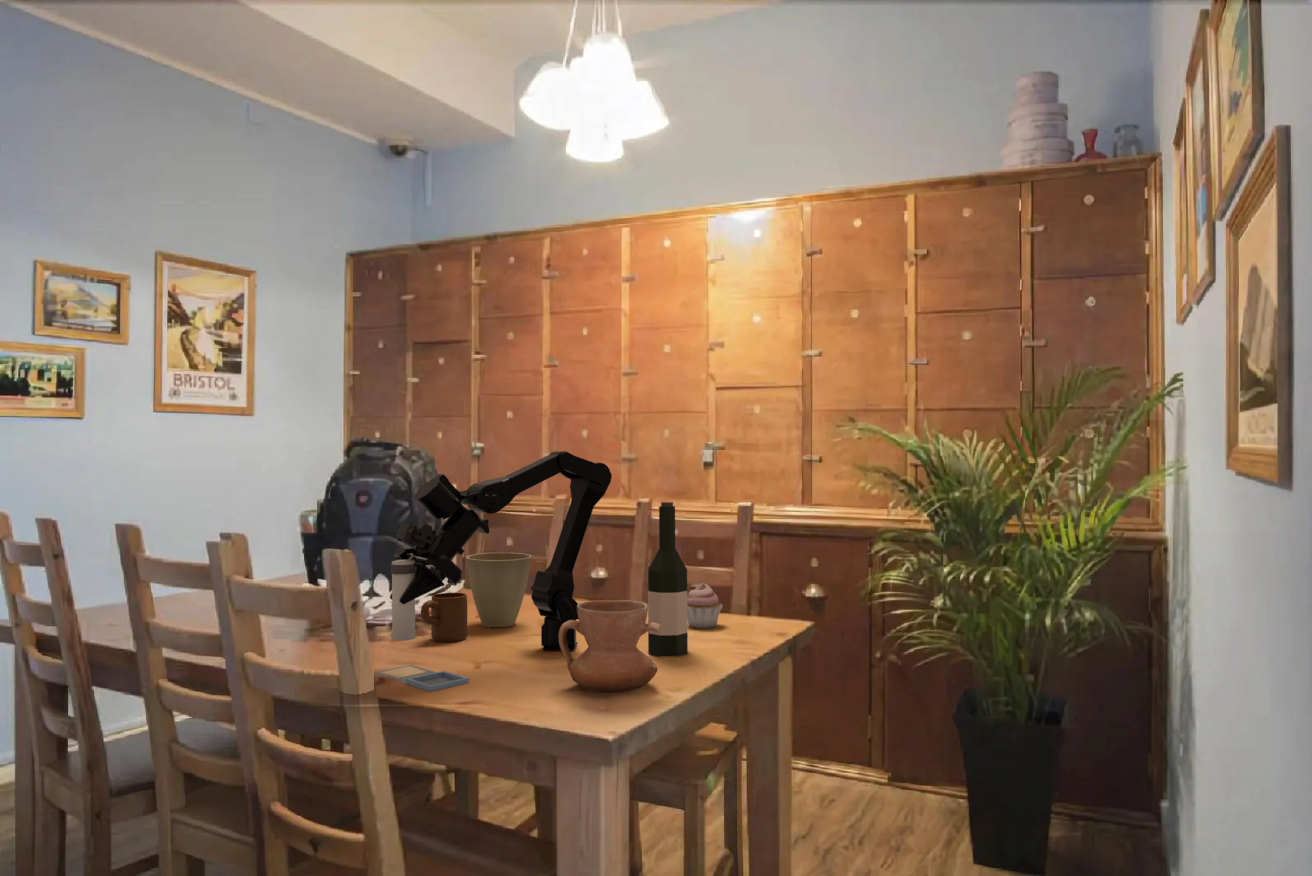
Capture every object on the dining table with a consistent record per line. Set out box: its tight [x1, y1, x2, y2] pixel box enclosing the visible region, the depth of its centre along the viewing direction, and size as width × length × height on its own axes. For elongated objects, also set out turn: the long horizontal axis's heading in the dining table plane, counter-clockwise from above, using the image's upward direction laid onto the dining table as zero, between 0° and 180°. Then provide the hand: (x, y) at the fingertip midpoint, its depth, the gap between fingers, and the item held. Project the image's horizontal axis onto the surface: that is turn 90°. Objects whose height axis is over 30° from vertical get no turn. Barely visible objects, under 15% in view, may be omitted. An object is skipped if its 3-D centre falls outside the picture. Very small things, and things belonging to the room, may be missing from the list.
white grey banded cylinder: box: [390, 559, 416, 642], centre depth 164 cm, size 4×4×14 cm
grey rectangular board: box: [374, 664, 470, 693], centre depth 160 cm, size 19×8×1 cm, turn 46°
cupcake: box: [687, 582, 723, 629], centre depth 206 cm, size 9×9×10 cm
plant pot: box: [466, 552, 533, 628], centre depth 209 cm, size 15×15×16 cm
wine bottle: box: [647, 501, 689, 657], centre depth 181 cm, size 8×8×30 cm
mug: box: [420, 592, 468, 643], centre depth 192 cm, size 12×8×9 cm, turn 151°
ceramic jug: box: [559, 599, 661, 694], centre depth 155 cm, size 18×14×14 cm
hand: (396, 601), depth 163 cm, fingers closed on white grey banded cylinder, 4 cm apart
